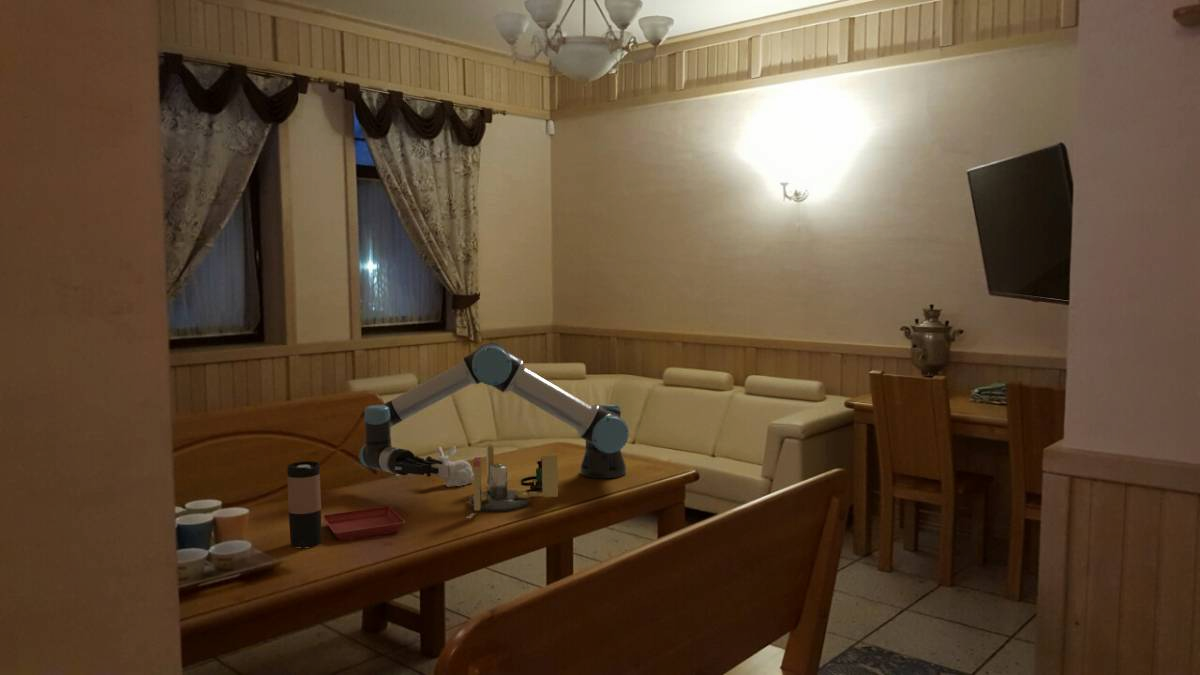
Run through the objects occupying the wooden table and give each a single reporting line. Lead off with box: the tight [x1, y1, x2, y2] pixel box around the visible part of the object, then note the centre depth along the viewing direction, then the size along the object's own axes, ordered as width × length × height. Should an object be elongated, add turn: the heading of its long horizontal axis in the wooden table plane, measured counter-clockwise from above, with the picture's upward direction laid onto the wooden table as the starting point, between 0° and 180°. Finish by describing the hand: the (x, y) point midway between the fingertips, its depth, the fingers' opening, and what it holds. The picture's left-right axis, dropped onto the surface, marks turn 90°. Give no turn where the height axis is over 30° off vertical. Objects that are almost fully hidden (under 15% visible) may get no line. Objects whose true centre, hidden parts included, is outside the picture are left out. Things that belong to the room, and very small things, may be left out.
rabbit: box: [437, 445, 474, 488], centre depth 277 cm, size 12×9×12 cm
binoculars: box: [520, 457, 542, 492], centre depth 265 cm, size 9×11×10 cm
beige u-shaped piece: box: [472, 456, 488, 511], centre depth 243 cm, size 12×4×14 cm, turn 3°
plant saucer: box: [321, 505, 406, 541], centre depth 229 cm, size 18×18×3 cm
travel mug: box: [286, 460, 322, 549], centre depth 216 cm, size 8×8×20 cm
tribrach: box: [466, 443, 559, 520], centre depth 250 cm, size 27×32×14 cm
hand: (448, 471), depth 245 cm, fingers closed
